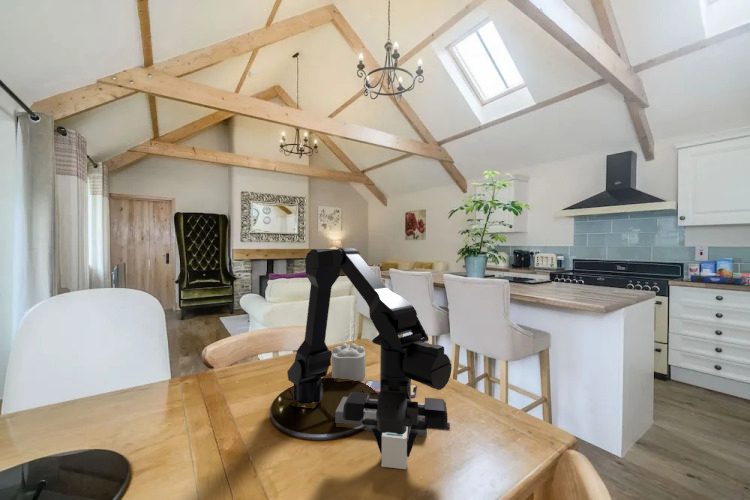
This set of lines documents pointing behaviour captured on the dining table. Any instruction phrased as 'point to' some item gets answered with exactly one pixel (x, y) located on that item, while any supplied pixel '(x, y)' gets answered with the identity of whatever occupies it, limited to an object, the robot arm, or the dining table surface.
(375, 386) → the smartphone
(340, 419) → the power strip
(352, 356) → the lumpy-topped squat cylinder
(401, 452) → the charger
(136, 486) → the dining table surface
